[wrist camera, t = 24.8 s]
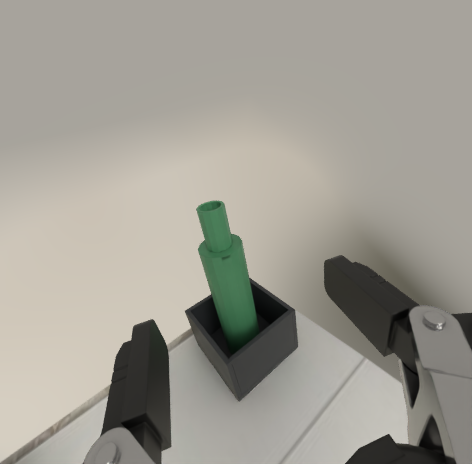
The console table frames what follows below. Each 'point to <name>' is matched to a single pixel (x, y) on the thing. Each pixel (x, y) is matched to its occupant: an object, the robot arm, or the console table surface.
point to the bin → (254, 352)
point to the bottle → (227, 276)
